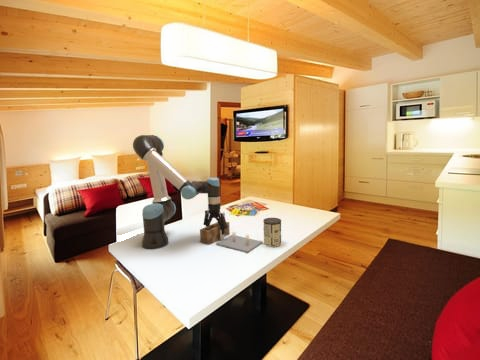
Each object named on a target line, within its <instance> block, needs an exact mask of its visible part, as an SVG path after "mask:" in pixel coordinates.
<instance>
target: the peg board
mask: <svg viewBox="0 0 480 360" xmlns="http://www.w3.org/2000/svg"><path fill="white" fill-rule="evenodd" d="M262 244H263V241H261V240H258V239H252V238H250V234H245V237H244V236H241V235H236V231H232V233H231V235H228V236H226V237H224V239H223V240H220V241H219V240H218V242H217V241H216V243H215V245H216V246H220V247H223V248H226V249H230V250H235V251H239V252H242V253H245V254H246V253H247V254H249V253H250V252H251V251H253V250H255V249H256V248H258V247H259V246H261V245H262Z"/></svg>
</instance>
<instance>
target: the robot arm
mask: <svg viewBox="0 0 480 360" xmlns="http://www.w3.org/2000/svg"><path fill="white" fill-rule="evenodd" d="M132 148H133V151H134V153H135V154H136V155H137V156H138V157H139V158H140V159H141V160H142V161H144V162H146V163H147V169H148V174H149V179H150V183H151V189H152V194H153V199H152V201H151V204H147V205H145V206H144V207H143V208H142V212H141V213H142V216H141V217H142V222H143V223H142V224H143V237H142V240H141V246H142V248H144V249H147V250H152V249H153V250H155V249H161V248H163V247H166V246H168V245H169V237H168V235H167V233H166V229H165V222H167V221H168V220H170V219H171V218H172V217H173V216H174V215H175V213H176V210H177V207H176V204H175V202H173V201H172V197H171V196H169V194H168V190H167V183H166V180H167V181H168V182H170V184H172V185H173V186H174V187H175V188H176V189H178V191H180V195H181V197H182V198H183V199H184V200H191V199H194V198H195V197H196V196H198V195H199V194H200V195H201V194H207V210H204V219H203V226H205V227H207V226H209V225H211V224H212V221H213V219H215V220H216V221H217V222H218V224H219V226H220V228H221V230H220V239H219V240H220V241H221V240H223V239H225V237H224V234H225V229H226V228H227V224H226V222H227V221H226V217H225V216H226V215H225V212H221V187H220V186H221V185H220V184H221V183H220V178H219V177H208V178H207V179H206V180H205V181H203V180H197V181H196V180H191V181H190V180H188V179H187V177H185V176H184V175H183V174H182V173H181V172H179V170H178V169H176V168H175V167H174V166H173V165H172V164H171V163H170V162H168V161H167V160H166V159H165V158H164V157H163V156H164V154H163V150H164V148H165V144H164V142H163V139H162V138H161V137H159V136H158V135H154V134H141V135H138V136H137V137H135V138H134V139H133V142H132ZM222 227H223V228H222Z"/></svg>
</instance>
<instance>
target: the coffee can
mask: <svg viewBox="0 0 480 360" xmlns="http://www.w3.org/2000/svg"><path fill="white" fill-rule="evenodd" d="M281 244H282V219H280V218H278V217H266V218H263V245H265V246H267V247H271V248H272V247H279V246H281Z"/></svg>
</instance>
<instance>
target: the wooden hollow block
mask: <svg viewBox="0 0 480 360" xmlns="http://www.w3.org/2000/svg"><path fill="white" fill-rule="evenodd" d="M226 224H227V228H226V229H225V234H224V238H226V237H228V236H230V234H231V233H230V230H231V229H230V221H226ZM222 228H223V227H222ZM220 230H221V228H220V226H219V224H218V221H217V222H214V223H211V224H210V225H209V226H207V227H206V226H205V227H203V228H201V229H199V240H200V243H202V244H206V245H212V244H213V243H215V242H216V243H217V241H219V240H220Z"/></svg>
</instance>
